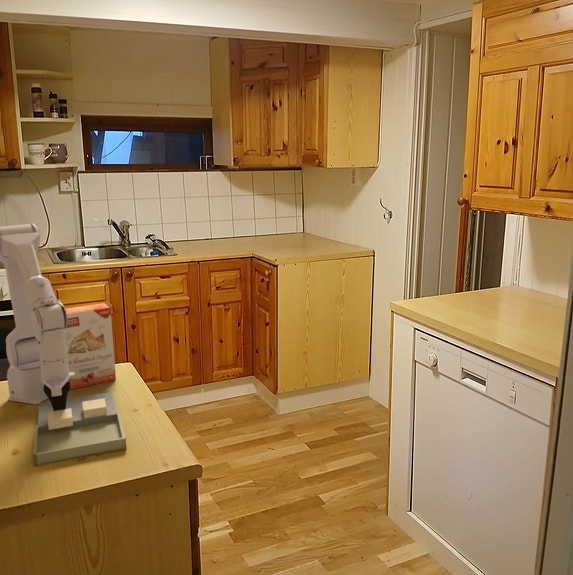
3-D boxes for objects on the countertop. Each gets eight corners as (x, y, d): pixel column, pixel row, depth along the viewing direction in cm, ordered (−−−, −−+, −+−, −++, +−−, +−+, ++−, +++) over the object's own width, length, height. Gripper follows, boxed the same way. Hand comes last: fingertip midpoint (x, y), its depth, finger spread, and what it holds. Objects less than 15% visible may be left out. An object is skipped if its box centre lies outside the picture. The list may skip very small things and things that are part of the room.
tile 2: (83, 409, 138) (82, 401, 138) (105, 406, 140) (104, 398, 140) (84, 418, 134) (83, 410, 133) (106, 414, 136) (106, 406, 135)
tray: (36, 435, 130) (35, 425, 130) (120, 421, 137) (119, 411, 136) (34, 466, 118) (32, 455, 117) (126, 449, 124) (125, 438, 124)
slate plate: (40, 410, 143) (39, 403, 142) (112, 399, 149) (112, 391, 148) (38, 435, 131) (37, 427, 130) (117, 421, 136) (117, 414, 136)
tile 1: (48, 420, 133) (47, 412, 133) (72, 416, 135) (71, 408, 135) (48, 429, 129) (47, 421, 128) (73, 425, 131) (72, 417, 130)
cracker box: (63, 392, 153) (55, 315, 148) (59, 384, 158) (50, 309, 153) (117, 380, 160) (110, 306, 155) (111, 373, 165) (104, 301, 160)
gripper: (73, 365, 126) (79, 423, 130) (71, 345, 140) (77, 398, 143) (38, 370, 124) (45, 429, 127) (39, 349, 137) (46, 403, 140)
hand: (60, 413), depth 135 cm, fingers closed
